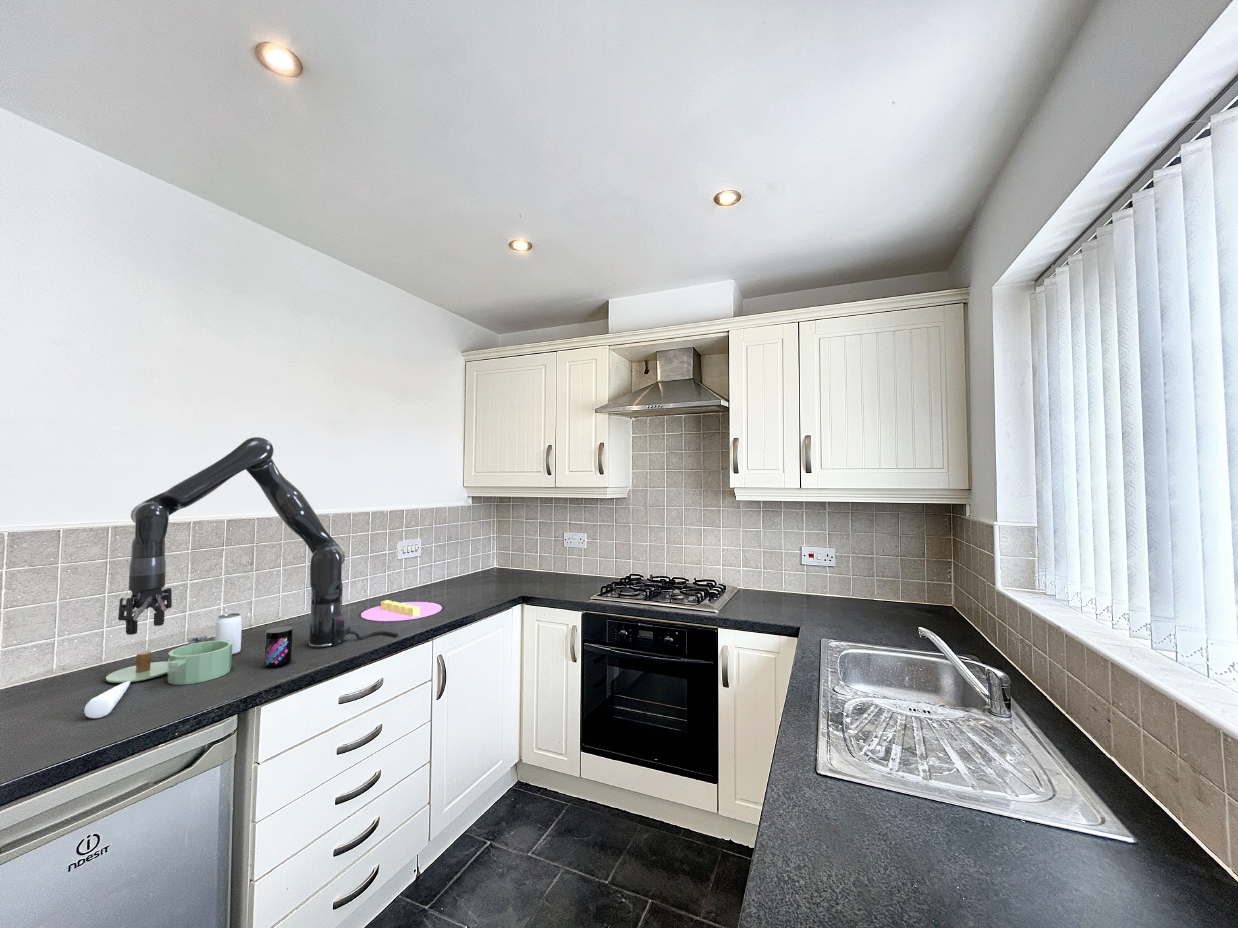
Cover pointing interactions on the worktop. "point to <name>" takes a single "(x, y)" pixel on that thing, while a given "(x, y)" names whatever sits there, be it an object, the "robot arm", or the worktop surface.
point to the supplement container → (278, 647)
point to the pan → (199, 662)
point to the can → (229, 630)
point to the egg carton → (200, 639)
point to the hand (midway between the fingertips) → (145, 629)
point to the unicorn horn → (105, 701)
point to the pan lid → (139, 670)
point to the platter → (400, 611)
